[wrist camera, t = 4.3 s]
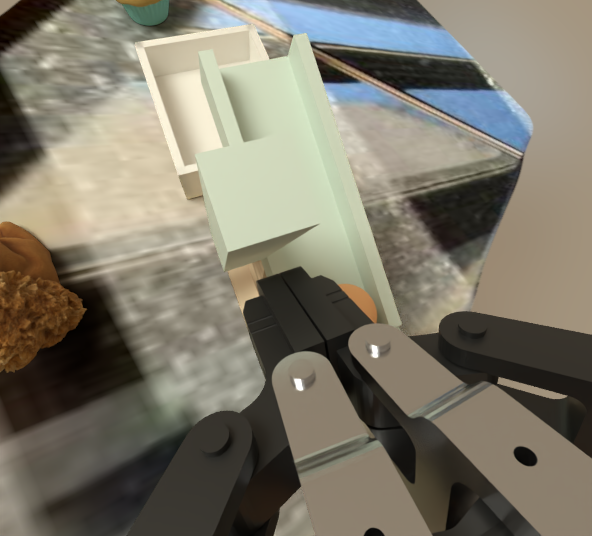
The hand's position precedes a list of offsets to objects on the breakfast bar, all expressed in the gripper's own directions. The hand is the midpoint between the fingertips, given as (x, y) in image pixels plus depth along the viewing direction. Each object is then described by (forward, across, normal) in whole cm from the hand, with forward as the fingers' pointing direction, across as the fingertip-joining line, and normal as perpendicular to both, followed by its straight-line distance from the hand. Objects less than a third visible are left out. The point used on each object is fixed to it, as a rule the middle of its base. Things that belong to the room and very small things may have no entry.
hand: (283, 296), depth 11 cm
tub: (+33, +4, +2) cm, 33 cm away
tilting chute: (+12, +3, -5) cm, 13 cm away
